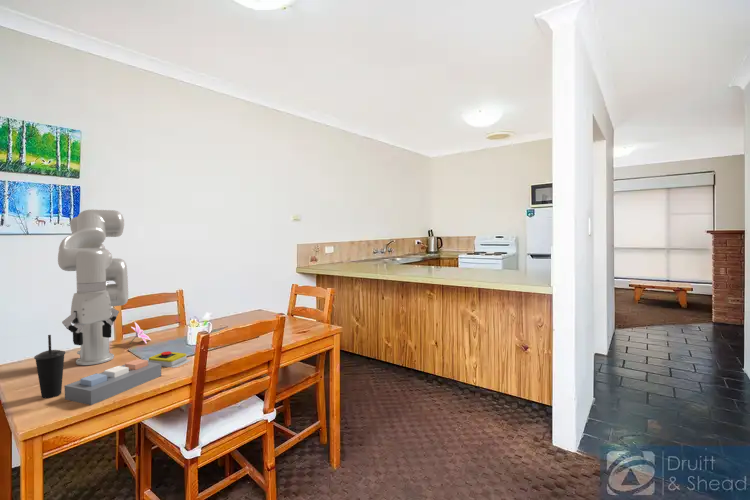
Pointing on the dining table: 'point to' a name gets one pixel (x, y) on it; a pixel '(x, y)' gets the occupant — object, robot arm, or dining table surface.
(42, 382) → the drinking cup
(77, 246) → the robot arm
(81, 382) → the slate blue key
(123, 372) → the off white key
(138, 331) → the lily
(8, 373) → the dining table surface
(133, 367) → the terracotta key
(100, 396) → the key panel
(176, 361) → the emergency button
